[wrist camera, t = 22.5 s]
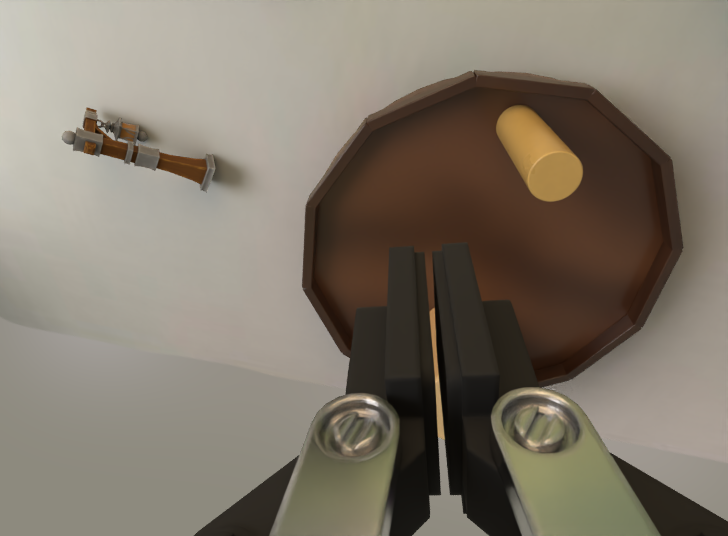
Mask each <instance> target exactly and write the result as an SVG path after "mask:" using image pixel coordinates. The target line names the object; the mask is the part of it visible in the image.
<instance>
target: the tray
mask: <svg viewBox="0 0 728 536" xmlns="http://www.w3.org/2000/svg"><path fill="white" fill-rule="evenodd" d="M463 242H467V243H468V246H469V250H470V254H471V258H472V263H473V267H474V271H475V275H476V279H477V283H478V287H479V291H480V295H481V299H482V301H490V300H510V301H511V303H512V306H513V309H514V312H515V315H516V318H517V321H518V324H519V327H520V330H521V333H522V336H523V339H524V342H525V345H526V348H527V351H528V354H529V357H530V360H531V363H532V366H533V369H534V372H535V375H536V378H537V381H538V384H539V387H540V388H541V387H545V386H549V385H553V384H557V383H561V382H565V381H568V380H570V379H573V378H574V377H576V376H577V375H578V374H580V373H581V372H583V371H584V370H585V369H587V368H588V367H589V366H591V365H592V364H594V363H595V362H596V361H598V360H599V359H600V358H602V357H603V356H605V355H606V354H607V353H609V352H610V351H612V350H613V349H614V348H616V347H617V346H618V345H620V344H621V343H623V342H624V341H625V340H627V339H628V338H629V337H631V336H632V335H634V334H635V333H636V332H638V331H639V330H640V329H641V327H643V326H644V324H645V322H646V320H647V318H648V316H649V314H650V312H651V310H652V308H653V306H654V304H655V303H656V301H657V299H658V297H659V295H660V293H661V291H662V289H663V287H664V285H665V283H666V281H667V280H668V278H669V276H670V274H671V272H672V270H673V268H674V266H675V264H676V262H677V260H678V259H679V257H680V255H681V253H682V249H683V242H682V234H681V226H680V219H679V211H678V203H677V195H676V188H675V180H674V172H673V165H672V160H671V159H670V156H669V155H667V154H666V153H665V152H664V151H663V150H662V149H661V148H660V147H659V146H658V145H656V144H655V143H654V142H653V141H652V140H651V139H650V138H649V137H648V136H647V135H646V134H644V133H643V132H642V131H641V130H640V129H639V128H638V127H637V126H636V125H635V124H633V123H632V122H631V121H630V120H629V119H628V118H627V117H626V116H625V115H624V114H623V113H621V112H620V111H619V110H618V109H617V108H616V107H615V106H614V105H613V104H612V103H611V102H609V101H608V100H607V99H606V98H605V97H604V96H603V95H602V94H601V93H600V92H598V91H597V90H596V89H595V88H593V87H591V86H590V85H587V84H585V83H577V82H569V81H561V80H556V79H553V78H549V77H544V76H539V75H534V74H529V73H516V72H486V71H478V70H474V72H472V71H469V72H467V73H465V74H462V75H460V76H458V77H455V78H450V79H446V80H442V81H440V82H437V83H434V84H431V85H429V86H426V87H423V88H420V89H418V90H416V91H414V92H412V93H410V94H408V95H406V96H404V97H402V98H400V99H398V100H396V101H395V102H393V103H391V104H390V105H389V106H387V107H386V108H384V109H383V110H380V111H378V112H376V113H373V114H371V115H369V116H368V118H365V120H364V121H363V122H362V124H361V125H360V127H359V128H358V129H357V131H356V132H355V133H354V134H353V135H352V136H351V138H350V139H349V140H348V141H347V143H346V144H345V145H344V146H343V147H342V149H341V150H340V151H339V152H338V154H337V155H336V157H335V158H334V160H333V162H332V163H331V165H330V166H329V168H328V170H327V171H326V173H325V175H324V176H323V178H322V179H321V180H320V182H319V183H318V184H317V186H316V187H315V189H314V190H313V191H312V193H311V194H310V196H309V198H308V201H307V204H306V210H305V233H304V256H303V279H302V288H303V290H304V292H305V294H306V295H307V297H308V299H309V300H310V302H311V304H312V305H313V307H314V308H315V310H316V312H317V313H318V315H319V317H320V318H321V320H322V322H323V323H324V325H325V327H326V328H327V330H328V332H329V333H330V335H331V336H332V338H333V340H334V341H335V343H336V345H337V346H338V348H339V350H340V351H341V353H342V352H343V354H344V355H345V356H347V357H349V358H350V354H351V346H352V338H353V330H354V322H355V314H356V309H357V308H359V307H378V306H387V294H388V266H389V247H403V246H414V252H424V254H425V266H426V277H427V289H428V300H429V312H430V311H431V310H432V309H433V308H435V305H434V283H433V260H432V251H442V244H448V243H463Z"/></svg>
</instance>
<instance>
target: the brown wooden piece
mask: <svg viewBox="0 0 728 536" xmlns="http://www.w3.org/2000/svg"><path fill="white" fill-rule="evenodd" d="M96 111H97V110H94V109H90V108H86V111H85V116H84V121H83V128H84V130H82V129H80V128H78V127H77V129H76V133H74V132H72V131H65V132H64V133H63V134H62V140H63V141H64V142H65V143H66V144H70V145H71V144H73V151H81V152H84V153H86V154H90V155H96V156H98V157H99V155H100V154H103V155H107V156H111V157H114V158H118V159H122V160H124V163H127V164H130V162H133V163H135V166H141V167H146V168H150V169H152V170H154V171H155V170H156V168H158V169H161V170H165V171H169V172H171V173H174V174H177V175H180V176H182V177H185V178H188V179H190V180H193V181H195V182H197V183H199V184H200V190H203V191H205V192H206V193H207V190H208V187H209V185H210V182H211V179H212V177H213V174H214V171H215V164H214V159H213V154H212V155H208V154H206V157H205V159H193V158H187V157H180V156H173V155H168V154H164V153H160V152H159V149H153V148H149V147H146V146H143V145H141V144H138V146H135V144H136V140H137V139H138V140H139V141H145V140H146V139H147V134H146V133H145V132H143V131H139V125H131V124H127V123H123V122H121V118H119V120H118V121H117V122H116V123H115V124H114V123H112V124H111V125H110V120H109V121H108V122H107V123H103V122H102V121H101V120H98V119H97V115H96V114H97V113H96ZM97 121H100V122H101V126H97ZM104 124H105V126H104ZM98 127H99V128H101V127H104V128H105V129H106V132H107V133H108V132H109V129H110V131H111V132H113V133H114V136H115V141H114V140H112V139H111V138H110V137H108V136H107V135H106V134H105V133H104V132H103V131H101V130H100V129H99V128H98ZM118 138H121V139H124V140H127V141H128V144H127V143H123V142H118V141H117V139H118ZM133 144H134V145H133Z"/></svg>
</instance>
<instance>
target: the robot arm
mask: <svg viewBox="0 0 728 536" xmlns="http://www.w3.org/2000/svg"><path fill="white" fill-rule="evenodd" d="M432 260H433V283H434V305H435V328H436V350H437V363H438V374H439V384H440V395H441V405H442V416H443V426H444V437H445V446H446V457H447V468H448V479H449V488H450V495H461V496H462V505H463V513H464V514H467V518H469V519H470V520H471V521H472V522H473V523H475V524H476V525H477V526H478V527H479V528H481V529H482V530H483V531H484V532H486V534H487V536H728V521H726V520H724V519H723V518H721V517H719V516H717V515H716V514H714V513H712V512H710V511H709V510H707V509H705V508H704V507H702V506H700V505H699V504H697V503H695V502H694V501H692V500H690V499H688V498H687V497H685V496H683V495H682V494H680V493H678V492H676V491H675V490H673V489H671V488H670V487H668V486H666V485H664V484H663V483H661V482H659V481H658V480H656V479H654V478H652V477H651V476H649V475H647V474H646V473H644V472H642V471H641V470H639V469H637V468H635V467H634V466H632V465H630V464H629V463H627V462H625V461H624V460H622V459H620V458H618V457H617V456H615V455H613V454H612V453H610V452H609V451H608V449H607V448H606V446H605V444H604V443H603V441H602V439H601V438H600V436H599V434H598V433H597V431H596V430H595V428H594V426H593V425H592V423H591V422H590V420H589V418H588V417H587V415H586V414H585V413H584V411H583V410H582V409H581V408H580V407H579V406H578V404H576V403H575V402H573V401H572V400H571V399H569V398H568V397H566V396H565V395H562V394H560V393H558V392H555V391H553V390H549V389H544V388H540V387H539V384H538V381H537V378H536V375H535V372H534V369H533V366H532V363H531V360H530V357H529V354H528V351H527V348H526V345H525V342H524V339H523V336H522V333H521V330H520V327H519V324H518V321H517V318H516V315H515V312H514V309H513V306H512V303H511V301H510V300H490V301H482V299H481V295H480V291H479V287H478V283H477V279H476V275H475V271H474V267H473V263H472V258H471V254H470V250H469V246H468V243H467V242H463V243H448V244H442V251H432ZM429 495H441V491H440V469H439V449H438V427H437V406H436V386H435V371H434V358H433V347H432V335H431V324H430V312H429V300H428V289H427V277H426V266H425V254H424V252H414V246H403V247H389V266H388V294H387V306H378V307H359V308H357V309H356V314H355V322H354V330H353V338H352V346H351V354H350V362H349V370H348V378H347V386H346V395H344V396H340V397H337V398H336V399H334V400H332V401H330V402H328V403H327V404H326V405H324V406H323V407H322V408H321V409H320V410H319V411H318V412H317V414H316V416H315V417H314V419H313V421H312V423H311V425H310V428H309V431H308V433H307V436H306V439H305V441H304V444H303V447H302V450H301V452H300V455H299V456H297V457H296V458H295V459H293V460H292V461H291V462H289V463H288V464H287V465H285V466H284V467H283V468H282V469H280V470H279V471H277V472H276V473H275V474H274V475H272V476H271V477H269V478H268V479H267V480H266V481H264V482H263V483H262V484H260V485H259V486H258V487H256V488H255V489H254V490H252V491H251V492H250V493H248V494H247V495H246V496H244V497H243V498H242V499H241V500H239V501H238V502H237V503H235V504H234V505H233V506H231V507H230V508H229V509H227V510H226V511H225V512H223V513H222V514H221V515H219V516H218V517H217V518H215V519H214V520H213V521H211V522H210V523H209V524H207V525H206V526H205V527H203V528H202V529H201V530H200V531H198V532H197V533H196V534H195V535H194V536H412V535H413V534H414V533H415V532H416V531H417V530H418V529H419V528H420V527H421V526H422V525H423V524H424V523H425V522H426V521H427V520H428V519H429V518H430V505H429V504H430V503H429Z"/></svg>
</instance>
